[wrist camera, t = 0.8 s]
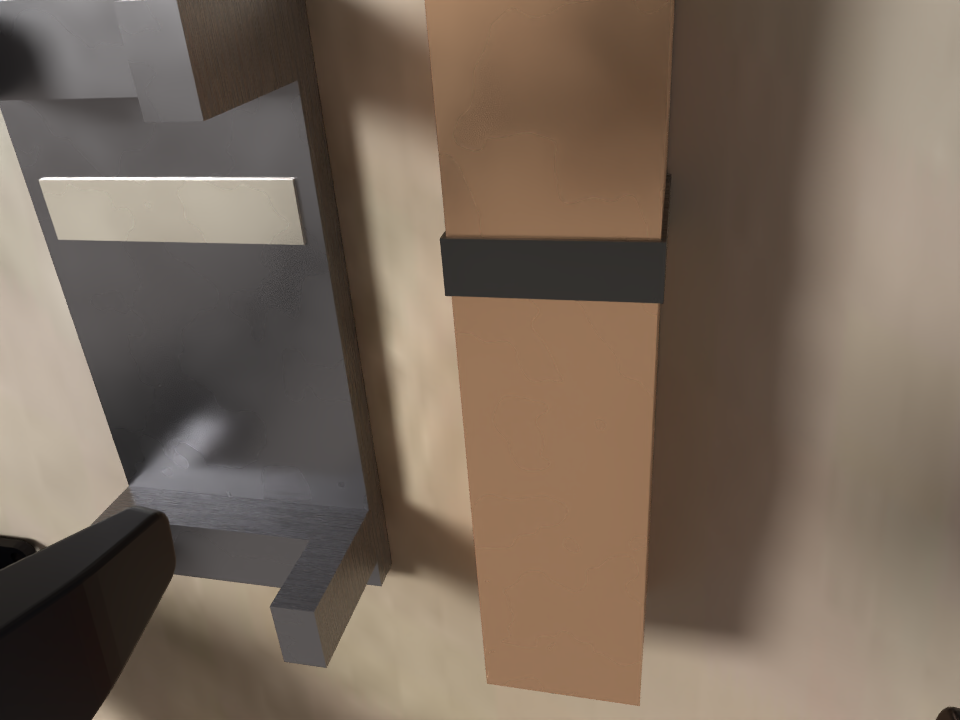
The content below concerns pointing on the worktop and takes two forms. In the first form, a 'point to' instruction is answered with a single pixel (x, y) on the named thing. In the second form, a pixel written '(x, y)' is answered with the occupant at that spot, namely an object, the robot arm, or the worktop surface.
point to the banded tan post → (557, 319)
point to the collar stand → (208, 285)
